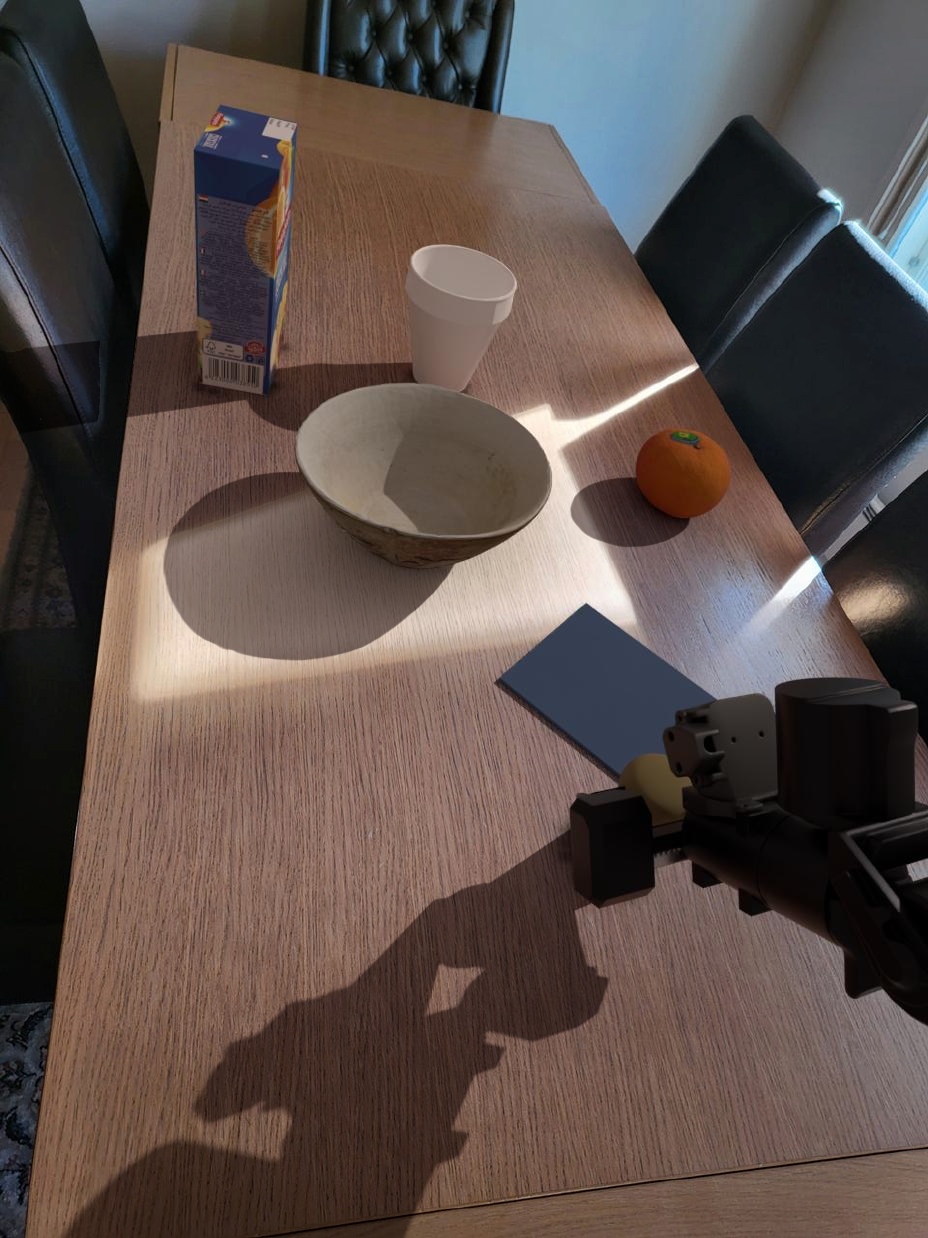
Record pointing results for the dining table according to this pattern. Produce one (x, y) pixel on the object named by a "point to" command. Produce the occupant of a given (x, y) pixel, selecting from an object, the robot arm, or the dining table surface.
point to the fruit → (682, 472)
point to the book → (603, 689)
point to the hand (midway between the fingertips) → (634, 788)
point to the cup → (454, 311)
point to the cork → (656, 786)
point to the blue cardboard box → (242, 246)
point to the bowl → (422, 471)
